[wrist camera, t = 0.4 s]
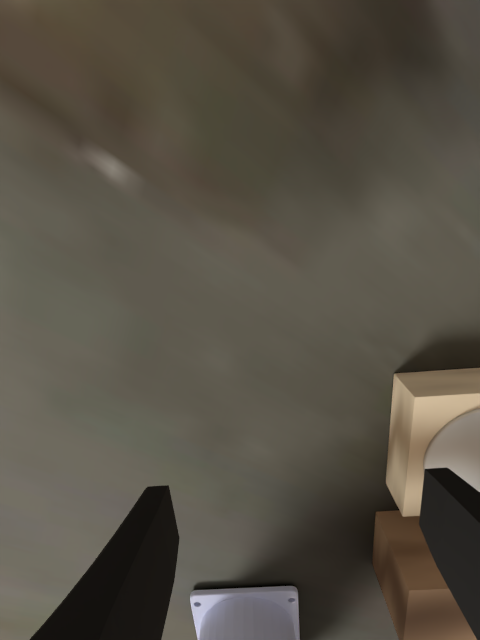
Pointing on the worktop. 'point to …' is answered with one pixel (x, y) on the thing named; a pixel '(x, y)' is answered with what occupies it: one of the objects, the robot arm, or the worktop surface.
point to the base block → (432, 431)
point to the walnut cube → (414, 582)
